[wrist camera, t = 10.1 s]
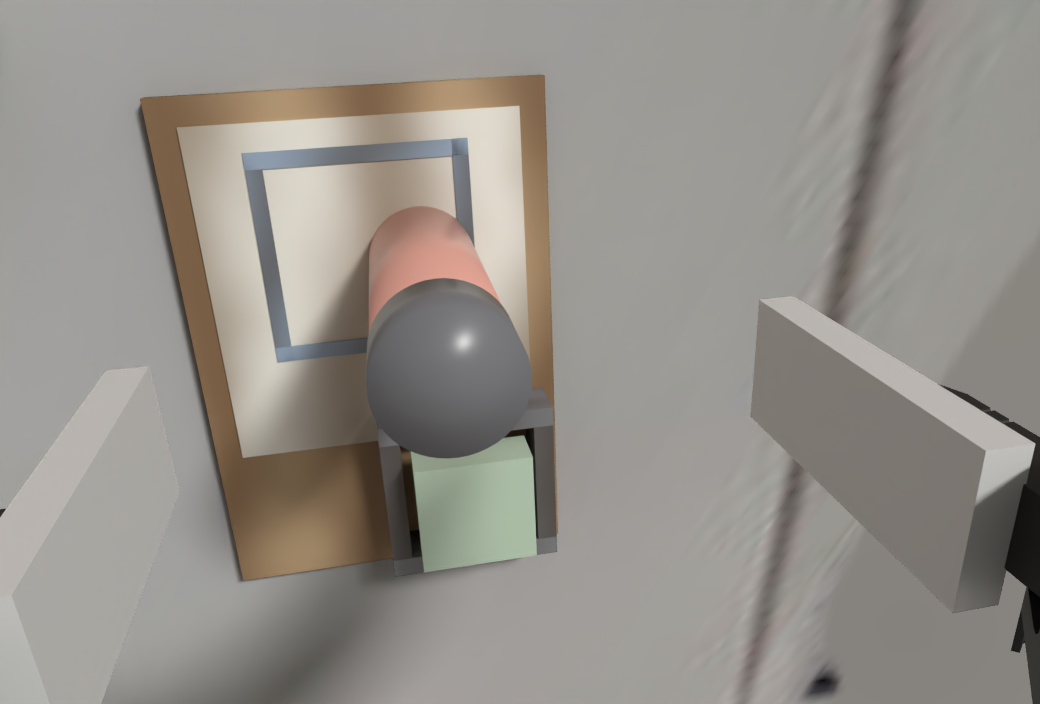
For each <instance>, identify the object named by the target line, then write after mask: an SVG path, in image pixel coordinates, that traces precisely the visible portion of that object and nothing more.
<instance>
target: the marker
mask: <svg viewBox="0 0 1040 704" xmlns="http://www.w3.org/2000/svg"><path fill="white" fill-rule="evenodd" d="M366 387H367V398H368V402H369V406H370V409H371V411H372V414H373V416H374V418H375V420H376V422H377V423H378V425H379V426H380V427H381V429H382V430H383V431H384V433H385V434H387V435H388V436H389V437H390V438H391V439H392V440H393V441H394V442H396V443H397V444H398V445H400V446H402V447H403V448H405V449H407V450H409V451H411V452H414V453H416V454H419V455H423V456H427V457H433V458H448V459H449V458H459V457H464V456H469V455H472V454H475V453H478V452H481V451H483V450H485V449H487V448H489V447H491V446H492V445H494V444H496V443H497V442H499V441H500V440H501V439H502V438H504V437H505V436H506V435H507V434H508V433H509V432H510V431H511V430H512V429H513V428H514V427H515V425H516V424H517V423H518V422H519V420H520V418H521V417H522V415H523V413H524V411H525V409H526V407H527V405H528V402H529V398H530V395H531V388H532V371H531V364H530V361H529V357H528V355H527V352H526V350H525V348H524V346H523V344H522V342H521V340H520V337H519V335H518V333H517V331H516V329H515V327H514V325H513V323H512V321H511V319H510V317H509V315H508V313H507V312H506V310H505V308H504V307H503V306H502V304H501V302H500V300H499V298H498V296H497V294H496V292H495V290H494V288H493V285H492V283H491V281H490V279H489V277H488V275H487V273H486V271H485V269H484V267H483V264H482V262H481V260H480V258H479V256H478V254H477V252H476V250H475V248H474V246H473V243H472V241H471V239H470V237H469V235H468V233H467V231H466V230H465V228H464V227H463V226H462V225H461V223H460V222H459V221H458V220H457V219H455V218H454V217H453V216H451V215H450V214H448V213H446V212H444V211H442V210H440V209H437V208H433V207H426V206H416V207H410V208H406V209H403V210H400V211H398V212H396V213H394V214H393V215H391V216H390V217H388V218H387V219H386V220H385V221H384V222H383V223H382V224H381V225H380V226H379V228H378V229H377V231H376V232H375V234H374V236H373V239H372V242H371V245H370V250H369V336H368V340H367V382H366Z"/></svg>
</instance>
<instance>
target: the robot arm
mask: <svg viewBox="0 0 1040 704" xmlns="http://www.w3.org/2000/svg"><path fill="white" fill-rule="evenodd" d="M751 417H752V418H753V419H754V420H755V421H756V422H757V423H758V424H759V425H760V426H761V427H762V428H763V429H764V430H765V431H766V432H767V433H768V434H769V435H770V436H771V437H772V438H773V439H774V440H775V441H776V442H777V443H778V444H779V445H780V446H781V447H783V448H784V449H785V450H786V451H787V452H788V453H789V454H790V455H791V456H792V457H793V458H794V459H795V460H796V461H797V462H798V463H799V464H800V465H801V466H802V467H803V468H804V469H805V470H806V471H807V472H808V473H809V474H810V475H811V476H812V477H813V478H814V479H815V480H816V481H817V482H818V483H819V484H820V485H822V486H823V487H824V488H825V489H826V490H827V491H828V492H829V493H830V494H831V495H832V496H833V497H834V498H835V499H836V500H837V501H838V502H839V503H840V504H841V505H842V506H843V507H844V508H845V509H846V510H847V511H848V512H849V513H850V514H851V515H852V516H853V517H854V518H855V519H856V520H857V521H858V522H859V523H861V524H862V525H863V526H864V527H865V528H866V529H867V530H868V531H869V532H870V533H871V534H872V535H873V536H874V537H875V538H876V539H877V540H878V541H879V542H880V543H881V544H882V545H883V546H884V547H885V548H886V549H887V550H888V551H889V552H890V553H891V554H892V555H894V557H895V558H896V559H898V560H899V561H900V562H901V563H902V564H903V565H904V566H905V567H906V568H907V569H908V570H909V571H910V572H911V573H912V574H913V575H914V576H915V577H916V578H917V579H918V580H919V581H920V582H921V583H922V584H923V585H924V586H925V587H926V588H927V589H928V590H929V591H930V592H931V593H932V594H933V595H935V596H936V598H937V599H939V600H940V601H941V602H942V603H943V604H944V605H945V606H946V607H947V608H948V609H949V610H950V611H951V612H952V613H957V612H962V611H967V610H973V609H979V608H984V607H990V606H995V605H998V604H999V599H1000V595H1001V591H1002V586H1003V582H1004V578H1005V573H1006V570H1007V571H1008V572H1010V573H1011V574H1012V575H1013V576H1014V577H1016V578H1017V579H1018V580H1019V581H1020V582H1022V583H1023V584H1024V585H1025V586H1026V587H1027V588H1026V592H1025V596H1024V600H1023V604H1022V608H1021V612H1020V617H1019V620H1018V625H1017V629H1016V632H1015V636H1014V640H1013V645H1012V649H1011V651H1015V652H1019V653H1020V650H1021V647H1022V644H1023V643H1025V645H1026V653H1027V661H1028V669H1029V677H1030V684H1031V693H1032V700H1033V704H1040V437H1038V436H1037V435H1035V434H1033V433H1032V432H1030V431H1028V430H1027V429H1025V428H1023V427H1022V426H1020V425H1018V424H1016V423H1015V422H1009V419H1008V418H1006V417H1005V416H1003V415H1001V414H1000V413H998V412H996V411H991V410H990V407H988V406H986V405H985V404H983V403H981V402H980V401H978V400H976V399H974V398H973V397H971V396H969V395H968V394H965V393H962V392H959V391H957V390H954V389H951V388H948V387H945V386H942V385H939V384H937V383H935V382H933V381H932V380H930V379H928V378H927V377H925V376H923V375H922V374H920V373H918V372H917V371H915V370H914V369H912V368H910V367H909V366H907V365H905V364H904V363H902V362H900V361H899V360H897V359H895V358H894V357H892V356H890V355H889V354H887V353H886V352H884V351H882V350H881V349H879V348H877V347H876V346H874V345H872V344H871V343H869V342H867V341H866V340H864V339H863V338H861V337H859V336H858V335H856V334H854V333H853V332H851V331H849V330H848V329H846V328H844V327H843V326H841V325H839V324H838V323H836V322H835V321H833V320H831V319H830V318H828V317H826V316H825V315H823V314H821V313H820V312H818V311H816V310H815V309H813V308H812V307H810V306H808V305H807V304H805V303H803V302H802V301H800V300H798V299H797V298H795V297H793V296H791V297H781V298H772V299H763V300H759V312H758V325H757V338H756V352H755V365H754V378H753V391H752V404H751ZM179 493H180V492H179V487H178V483H177V479H176V475H175V471H174V467H173V462H172V458H171V454H170V450H169V446H168V442H167V437H166V433H165V429H164V425H163V421H162V416H161V412H160V408H159V404H158V400H157V396H156V391H155V387H154V383H153V379H152V375H151V371H150V366H145V367H136V368H127V369H118V370H109V371H105V373H104V374H103V375H102V377H101V378H100V380H99V381H98V382H97V384H96V385H95V386H94V388H93V389H92V391H91V392H90V393H89V395H88V396H87V398H86V399H85V400H84V402H83V403H82V405H81V406H80V407H79V409H78V410H77V411H76V413H75V414H74V416H73V417H72V418H71V420H70V421H69V423H68V424H67V425H66V427H65V428H64V430H63V431H62V432H61V434H60V435H59V436H58V438H57V439H56V441H55V442H54V443H53V445H52V446H51V448H50V449H49V450H48V452H47V453H46V454H45V456H44V457H43V459H42V460H41V461H40V463H39V464H38V466H37V467H36V468H35V470H34V471H33V473H32V474H31V475H30V477H29V478H28V479H27V481H26V482H25V484H24V485H23V486H22V488H21V489H20V491H19V492H18V493H17V495H16V496H15V498H14V499H13V500H12V502H11V503H10V504H9V506H8V507H7V509H0V704H101V703H102V700H103V697H104V695H105V692H106V689H107V687H108V684H109V681H110V679H111V676H112V673H113V670H114V668H115V665H116V662H117V660H118V657H119V654H120V652H121V649H122V646H123V644H124V641H125V638H126V636H127V633H128V630H129V627H130V625H131V622H132V619H133V617H134V614H135V611H136V609H137V606H138V603H139V601H140V598H141V595H142V593H143V590H144V587H145V584H146V582H147V579H148V576H149V574H150V571H151V568H152V566H153V563H154V560H155V558H156V555H157V552H158V550H159V547H160V544H161V541H162V539H163V536H164V533H165V531H166V528H167V525H168V523H169V520H170V517H171V515H172V512H173V509H174V507H175V504H176V501H177V498H178V496H179Z"/></svg>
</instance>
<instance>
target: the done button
mask: <svg viewBox="0 0 1040 704" xmlns="http://www.w3.org/2000/svg"><path fill="white" fill-rule="evenodd" d="M411 459H412V469H413V478H414V487H415V496H416V506H417V515H418V524H419V533H420V543H421V551H422V559H423V566H424V573H425V572H431V571H438V570H444V569H451V568H457V567H464V566H470V565H477V564H483V563H490V562H496V561H503V560H509V559H516V558H522V557H528V556H535V555H537V546H536V522H535V498H534V474H533V456H532V454H531V451H530V449H529V447H528V444H527V442H526V439H525V437H524V435H523V436H515V437H507V438H502V439H501V440H500V441H499V442H497V443H496V444H494V445H492V446H491V447H489V448H487V449H485V450H483V451H481V452H478V453H475V454H472V455H469V456H464V457H459V458H449V459H448V458H433V457H427V456H423V455H419V454H416V453H414V452H411Z"/></svg>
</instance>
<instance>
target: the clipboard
mask: <svg viewBox="0 0 1040 704" xmlns="http://www.w3.org/2000/svg"><path fill="white" fill-rule="evenodd" d="M140 101H141V106H142V111H143V115H144V120H145V125H146V129H147V134H148V138H149V143H150V148H151V152H152V157H153V162H154V166H155V171H156V176H157V180H158V185H159V190H160V194H161V199H162V204H163V208H164V213H165V218H166V222H167V227H168V232H169V236H170V241H171V246H172V250H173V255H174V260H175V264H176V269H177V274H178V278H179V283H180V288H181V292H182V297H183V302H184V306H185V311H186V315H187V320H188V325H189V329H190V334H191V339H192V343H193V348H194V353H195V357H196V362H197V367H198V371H199V376H200V381H201V385H202V390H203V395H204V399H205V404H206V409H207V413H208V418H209V423H210V427H211V432H212V437H213V441H214V446H215V451H216V455H217V460H218V465H219V469H220V474H221V479H222V483H223V488H224V493H225V497H226V502H227V506H228V511H229V516H230V520H231V525H232V530H233V534H234V539H235V544H236V548H237V553H238V558H239V562H240V567H241V572H242V576H243V581H245V580H251V579H258V578H265V577H271V576H278V575H284V574H291V573H298V572H304V571H311V570H318V569H324V568H331V567H338V566H344V565H351V564H357V563H364V562H371V561H377V560H384V559H391V558H393V563H394V571H395V577H397V576H404V575H410V574H416V573H423V572H424V566H423V559H422V551H421V543H420V533H419V524H418V515H417V506H416V496H415V487H414V478H413V469H412V459H411V451H409V450H407V449H405V448H403V447H402V446H400V445H398V444H397V443H396V442H394V441H393V440H392V439H391V438H390V437H389V436H388V435H387V434H385V433H384V431H383V430H382V429H381V427H380V426H379V425H378V423H377V422H376V420H375V418H374V416H373V414H372V411H371V409H370V406H369V402H368V398H367V387H366V382H367V340H368V336H369V250H370V245H371V242H372V239H373V236H374V234H375V232H376V231H377V229H378V228H379V226H380V225H381V224H382V223H383V222H384V221H385V220H386V219H387V218H388V217H390V216H391V215H393V214H394V213H396V212H398V211H400V210H403V209H406V208H410V207H416V206H426V207H433V208H437V209H440V210H442V211H444V212H446V213H448V214H450V215H451V216H453V217H454V218H455V219H457V220H458V221H459V222H460V223H461V225H462V226H463V227H464V228H465V230H466V231H467V233H468V235H469V237H470V239H471V241H472V243H473V246H474V248H475V250H476V252H477V254H478V256H479V258H480V260H481V262H482V264H483V267H484V269H485V271H486V273H487V275H488V277H489V279H490V281H491V283H492V285H493V288H494V290H495V292H496V294H497V296H498V298H499V300H500V302H501V304H502V306H503V307H504V308H505V310H506V312H507V313H508V315H509V317H510V319H511V321H512V323H513V325H514V327H515V329H516V331H517V333H518V335H519V337H520V340H521V342H522V344H523V346H524V348H525V350H526V352H527V355H528V357H529V361H530V364H531V371H532V388H531V395H530V398H529V402H528V405H527V407H526V409H525V411H524V413H523V415H522V417H521V418H520V420H519V422H518V423H517V424H516V425H515V427H514V428H513V429H512V430H511V431H510V432H509V433H508V434H507V435H506V436H505V437H504V438H507V437H515V436H523V435H524V437H525V439H526V442H527V444H528V447H529V449H530V451H531V454H532V456H533V474H534V498H535V522H536V546H537V555H539V554H546V553H552V552H557V533H558V518H557V483H556V449H555V415H554V380H553V346H552V312H551V277H550V243H549V209H548V174H547V140H546V106H545V76H544V75H528V76H510V77H493V78H475V79H458V80H440V81H423V82H405V83H388V84H371V85H353V86H336V87H318V88H301V89H283V90H266V91H248V92H231V93H213V94H196V95H178V96H161V97H144V98H141V99H140Z"/></svg>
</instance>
